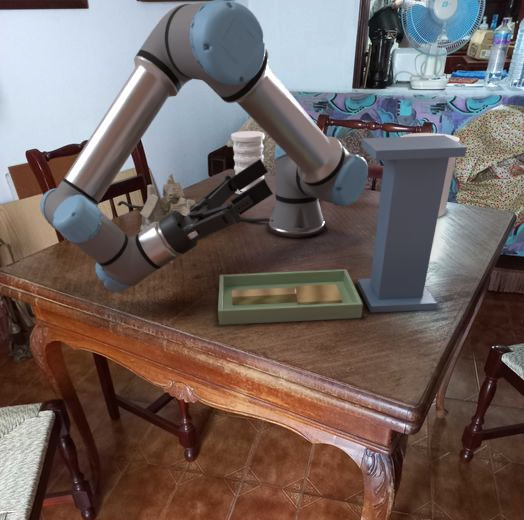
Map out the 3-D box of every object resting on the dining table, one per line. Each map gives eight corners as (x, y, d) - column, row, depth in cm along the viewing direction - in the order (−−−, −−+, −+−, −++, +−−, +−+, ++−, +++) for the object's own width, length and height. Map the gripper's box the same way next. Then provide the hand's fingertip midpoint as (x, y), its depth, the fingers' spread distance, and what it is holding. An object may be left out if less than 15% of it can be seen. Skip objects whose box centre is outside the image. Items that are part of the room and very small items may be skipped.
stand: (360, 313, 93) (377, 152, 76) (348, 285, 103) (361, 137, 86) (435, 309, 93) (469, 148, 76) (416, 282, 103) (442, 134, 86)
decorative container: (270, 193, 160) (269, 135, 150) (237, 196, 158) (234, 138, 147) (261, 184, 169) (260, 129, 159) (230, 187, 167) (226, 132, 157)
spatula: (232, 310, 94) (231, 301, 93) (232, 294, 99) (231, 285, 98) (342, 305, 94) (342, 296, 93) (335, 289, 100) (336, 280, 99)
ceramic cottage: (137, 228, 135) (130, 174, 126) (192, 221, 140) (189, 169, 131) (149, 250, 123) (142, 193, 114) (208, 242, 129) (206, 187, 120)
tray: (219, 325, 90) (217, 311, 89) (220, 287, 103) (219, 274, 102) (361, 318, 91) (362, 304, 90) (345, 281, 104) (346, 269, 102)
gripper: (187, 230, 100) (272, 174, 95) (175, 283, 80) (283, 216, 74) (165, 200, 97) (252, 141, 91) (147, 248, 76) (258, 175, 70)
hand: (266, 174), depth 83 cm, fingers open, 13 cm apart
